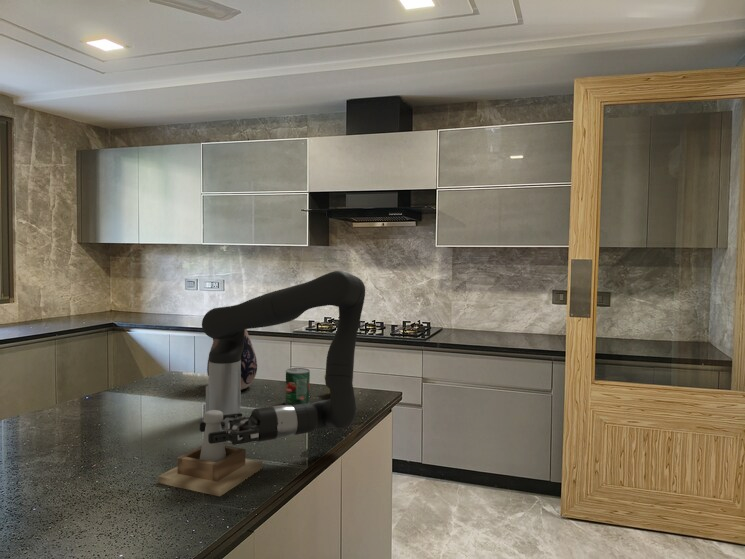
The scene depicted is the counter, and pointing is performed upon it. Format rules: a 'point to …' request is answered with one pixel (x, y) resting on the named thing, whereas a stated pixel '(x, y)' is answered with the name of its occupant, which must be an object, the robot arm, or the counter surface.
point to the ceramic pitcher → (244, 361)
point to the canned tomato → (297, 386)
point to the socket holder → (211, 472)
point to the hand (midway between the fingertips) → (204, 432)
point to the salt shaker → (208, 450)
